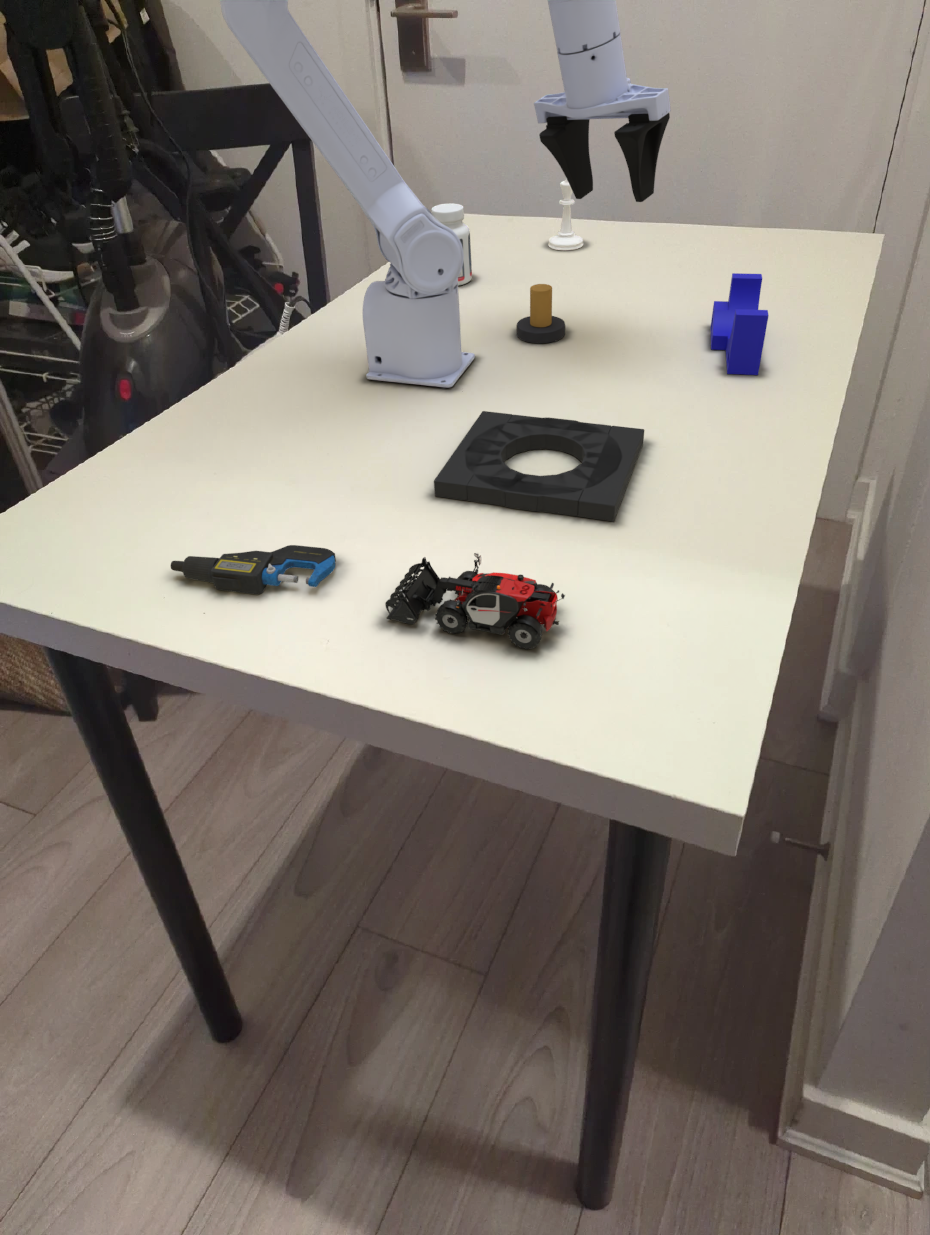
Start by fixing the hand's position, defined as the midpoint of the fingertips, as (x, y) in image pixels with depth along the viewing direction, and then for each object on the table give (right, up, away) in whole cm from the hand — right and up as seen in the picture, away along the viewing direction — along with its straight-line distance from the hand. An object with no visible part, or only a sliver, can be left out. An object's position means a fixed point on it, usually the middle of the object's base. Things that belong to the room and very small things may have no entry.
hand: (613, 196), depth 87 cm
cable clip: (+14, -14, +5) cm, 20 cm away
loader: (-14, -42, -27) cm, 52 cm away
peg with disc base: (-6, -10, +11) cm, 16 cm away
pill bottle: (-17, +2, +26) cm, 31 cm away
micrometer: (-30, -39, -22) cm, 54 cm away
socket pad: (-8, -29, -12) cm, 33 cm away
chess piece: (-1, +10, +36) cm, 37 cm away
